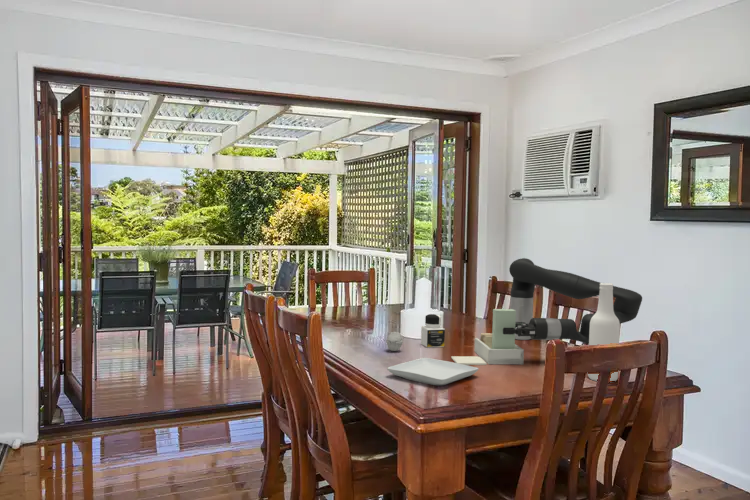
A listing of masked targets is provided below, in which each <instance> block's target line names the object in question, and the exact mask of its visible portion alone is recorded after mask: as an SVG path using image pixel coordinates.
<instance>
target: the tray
mask: <svg viewBox="0 0 750 500" xmlns="http://www.w3.org/2000/svg"><path fill="white" fill-rule="evenodd" d="M524 352H525V349H524V348H522V347H520V346H519V345H518V344H516V343H515V349H491V348H489V347H488V346H487V345H486V344H484V343H483V342H482V341H481V340H480V339H479V338H478V337H475V338H474V353H475V354H477V355H478V356H479V357H480V358H482V359H483V360H484V361H485V362H486V363H487V364H488V365H524V359H525V357H524V356H525V355H524V354H525V353H524Z"/></svg>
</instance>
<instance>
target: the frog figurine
mask: <svg viewBox="0 0 750 500" xmlns="http://www.w3.org/2000/svg"><path fill="white" fill-rule="evenodd" d="M403 343H404V340H403V337H402V335H401V333H400V332H398V331H391V332H390V333H389V334H388V337H387V339H386V345H387V348H388V350H389V351H391V352H397V351H399V350H400V349H401V347H402V345H403Z"/></svg>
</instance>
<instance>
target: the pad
mask: <svg viewBox="0 0 750 500" xmlns="http://www.w3.org/2000/svg"><path fill="white" fill-rule="evenodd" d="M450 357H451V360H453V361H454V363H459V364H463V365H468V366H487V364H488V363H487V362H486V361H485V360H483V359H482V358H481V357H480V356H479V355H478V356H473V355H471V356H468V355H467V356H457V355H456V356H455V355H454V356H453V355H452V356H450Z"/></svg>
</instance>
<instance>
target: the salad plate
mask: <svg viewBox="0 0 750 500" xmlns="http://www.w3.org/2000/svg"><path fill="white" fill-rule="evenodd" d="M386 369H387V371H388V372H389V373H391V374H392V375H394V376H397V377H400V378H403V379H406V380H410V381H413V382H414V381H415V382H418V383H422V384H427V385H432V386H439V387H440V386H445V385H448V384H451V383H454V382H457V381H459V380H463V379H465V378H467V377H471V376H472V375H474V374H476V373H477V372H478V371H479V369H480V368H479V367H476V366H473V365H463V364H459V363H455V362H453V361H448V360H441V359H436V358H431V357H421V358H417V359H413V360H409V361H406V362H401V363H397V364H395V365H390V366H388V367H387V368H386Z"/></svg>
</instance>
